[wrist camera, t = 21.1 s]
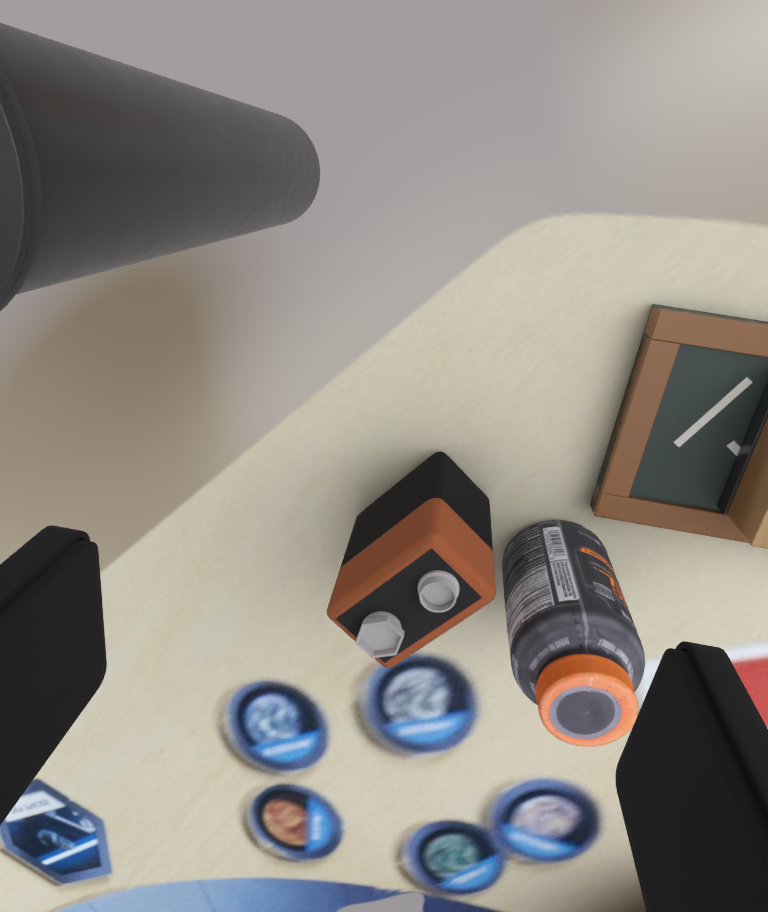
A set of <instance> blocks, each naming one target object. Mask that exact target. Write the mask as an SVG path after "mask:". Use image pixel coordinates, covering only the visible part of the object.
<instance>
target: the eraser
mask: <svg viewBox="0 0 768 912" xmlns="http://www.w3.org/2000/svg"><path fill="white" fill-rule="evenodd" d="M717 507H718V508H719V510H720V511H721V512H722V513H723V515H727V516H729V517H730V519H731V520H732V521H733V523H734V524H735V525H736V527H737V528H738V529H739V530H740V532H741V533H742V534H743V536H744V537H745V538H746V540H747V541H748V542H749V543H750V545H752V546H756V547H762V548H768V382H767V385H766V387H765V389H764V392H763V394H762V397H761V399H760V402H759V404H758V406H757V409H756V411H755V414H754V416H753V419H752V421H751V424H750V426H749V428H748V431H747V433H746V436H745V438H744V441H743V443H742V445H741V448H740V450H739V453H738V455H737V458H736V460H735V462H734V465H733V467H732V470H731V472H730V475H729V477H728V479H727V482H726V484H725V487H724V489H723V492H722V494H721V496H720V499H719V501H718V504H717Z"/></svg>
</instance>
